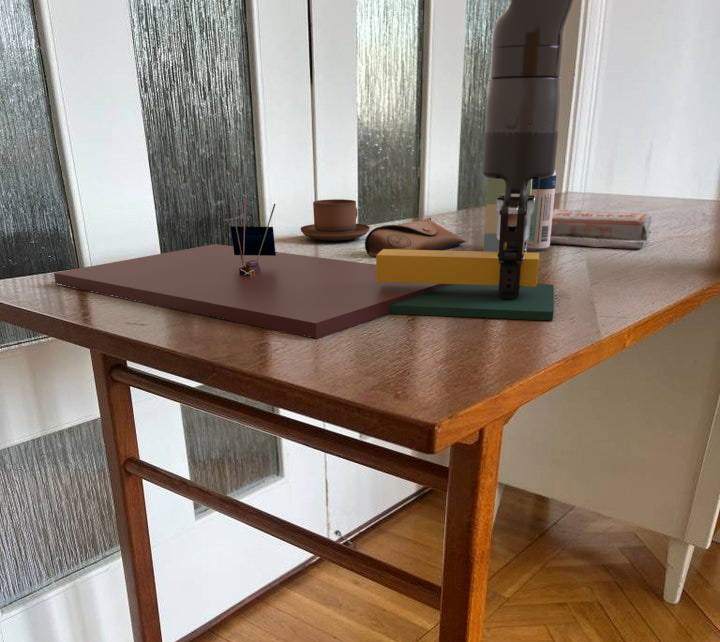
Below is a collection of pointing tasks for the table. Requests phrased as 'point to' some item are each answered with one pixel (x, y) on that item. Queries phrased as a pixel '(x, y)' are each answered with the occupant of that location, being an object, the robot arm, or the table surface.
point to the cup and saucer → (335, 221)
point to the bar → (449, 267)
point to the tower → (494, 213)
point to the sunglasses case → (411, 237)
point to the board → (252, 284)
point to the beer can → (542, 213)
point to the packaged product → (600, 229)
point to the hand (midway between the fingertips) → (509, 293)
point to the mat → (481, 303)
